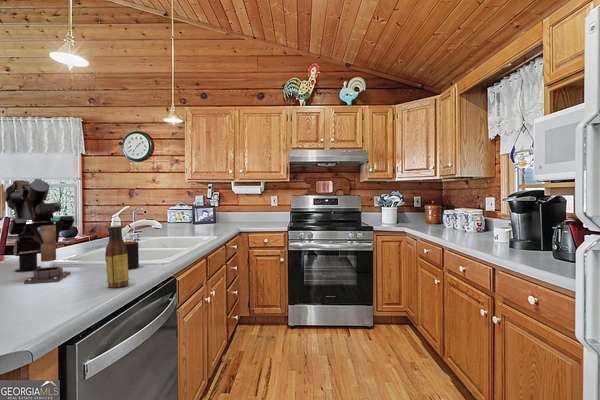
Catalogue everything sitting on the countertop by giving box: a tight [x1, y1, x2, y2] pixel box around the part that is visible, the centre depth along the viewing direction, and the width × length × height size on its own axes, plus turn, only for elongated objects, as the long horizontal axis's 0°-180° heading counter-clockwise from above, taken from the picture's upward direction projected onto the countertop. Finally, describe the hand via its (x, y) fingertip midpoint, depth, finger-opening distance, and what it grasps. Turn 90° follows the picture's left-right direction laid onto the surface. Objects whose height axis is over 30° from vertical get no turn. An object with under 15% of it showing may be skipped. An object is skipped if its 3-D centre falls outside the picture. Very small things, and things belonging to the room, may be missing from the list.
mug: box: [104, 240, 140, 271], centre depth 141 cm, size 8×12×10 cm
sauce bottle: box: [105, 225, 130, 289], centre depth 114 cm, size 7×6×20 cm
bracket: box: [23, 266, 71, 285], centre depth 124 cm, size 12×10×4 cm
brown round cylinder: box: [39, 225, 57, 263], centre depth 124 cm, size 4×4×12 cm
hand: (49, 242), depth 123 cm, fingers closed on brown round cylinder, 4 cm apart
